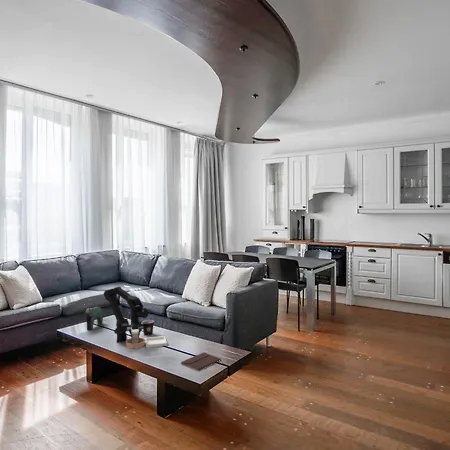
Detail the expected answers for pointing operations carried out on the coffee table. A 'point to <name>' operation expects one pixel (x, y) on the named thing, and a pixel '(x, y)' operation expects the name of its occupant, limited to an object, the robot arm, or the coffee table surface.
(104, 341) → the coffee table surface
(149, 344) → the tray
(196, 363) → the notebook
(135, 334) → the taupe block
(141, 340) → the terracotta bowl
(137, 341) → the grey block
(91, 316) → the green animal figure
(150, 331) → the coffee mug
